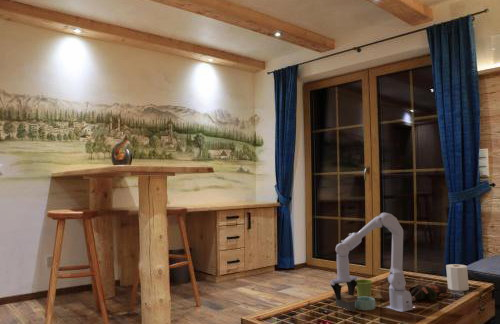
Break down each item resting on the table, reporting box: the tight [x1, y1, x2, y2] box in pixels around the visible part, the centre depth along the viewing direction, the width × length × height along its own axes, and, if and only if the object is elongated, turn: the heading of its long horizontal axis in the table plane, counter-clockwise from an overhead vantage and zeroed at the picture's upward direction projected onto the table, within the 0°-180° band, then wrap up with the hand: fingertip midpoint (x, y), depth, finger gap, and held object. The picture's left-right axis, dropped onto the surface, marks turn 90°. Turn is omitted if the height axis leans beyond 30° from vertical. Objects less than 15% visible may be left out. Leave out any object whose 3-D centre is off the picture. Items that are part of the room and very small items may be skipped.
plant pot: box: [355, 278, 374, 297], centre depth 210 cm, size 9×9×9 cm
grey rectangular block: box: [335, 298, 356, 312], centre depth 193 cm, size 10×3×4 cm, turn 28°
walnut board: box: [332, 291, 358, 303], centre depth 193 cm, size 11×6×2 cm, turn 28°
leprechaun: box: [408, 283, 448, 302], centre depth 204 cm, size 11×10×25 cm
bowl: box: [355, 296, 376, 311], centre depth 194 cm, size 9×9×4 cm
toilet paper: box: [445, 263, 470, 292], centre depth 220 cm, size 10×10×12 cm
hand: (344, 298), depth 193 cm, fingers open, 7 cm apart
